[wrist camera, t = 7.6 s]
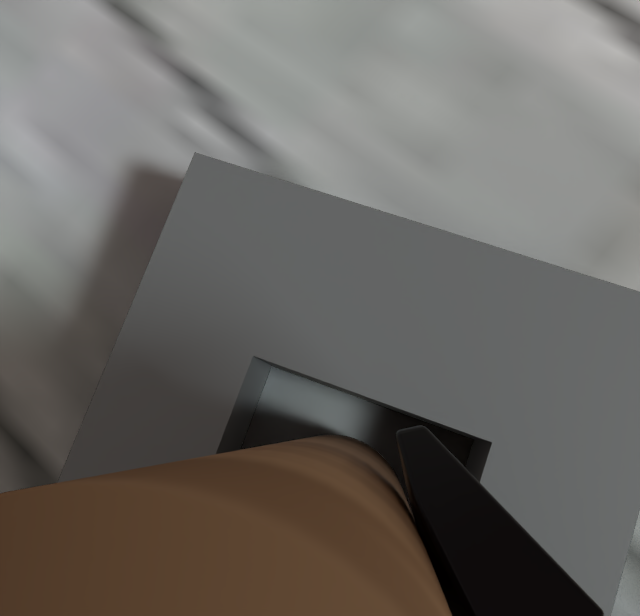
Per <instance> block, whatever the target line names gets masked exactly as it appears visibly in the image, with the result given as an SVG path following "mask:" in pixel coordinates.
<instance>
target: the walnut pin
mask: <svg viewBox="0 0 640 616" xmlns="http://www.w3.org/2000/svg"><path fill="white" fill-rule="evenodd" d="M0 616H452V614H451V611H450V609H449V606H448V603H447V601H446V598H445V596H444V593H443V591H442V588H441V586H440V583H439V581H438V578H437V576H436V573H435V570H434V568H433V565H432V563H431V560H430V558H429V555H428V553H427V550H426V548H425V545H424V543H423V541H422V538H421V536H420V533H419V531H418V528H417V526H416V523H415V520H414V517H413V515H412V512H411V509H410V507H409V504H408V502H407V499H406V497H405V494H404V492H403V489H402V487H401V484H400V482H399V480H398V477H397V475H396V474H395V472H394V470H393V469H392V467H391V466H390V464H389V463H388V462H387V461H386V459H385V458H384V457H383V456H382V455H381V454H380V453H378V452H377V451H376V450H375V449H373V448H372V447H370V446H369V445H367V444H365V443H364V442H361V441H359V440H357V439H354V438H350V437H347V436H341V435H321V436H314V437H309V438H303V439H298V440H292V441H287V442H281V443H276V444H270V445H264V446H259V447H253V448H248V449H242V450H237V451H231V452H226V453H220V454H214V455H209V456H203V457H198V458H192V459H187V460H181V461H176V462H170V463H164V464H159V465H153V466H148V467H142V468H137V469H131V470H126V471H120V472H114V473H109V474H103V475H98V476H92V477H87V478H81V479H76V480H70V481H64V482H59V483H53V484H48V485H42V486H37V487H31V488H26V489H20V490H14V491H9V492H4V493H1V494H0Z"/></svg>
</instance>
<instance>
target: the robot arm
mask: <svg viewBox="0 0 640 616" xmlns="http://www.w3.org/2000/svg"><path fill="white" fill-rule="evenodd" d="M396 440H397V445H398V449H399V454H400V459H401V464H402V469H403V474H404V478H405V482H406V487H407V491H408V495H409V499H410V503H411V507H412V511H413V516H414V520H415V523H416V526H417V528H418V531H419V533H420V536H421V538H422V541H423V543H424V545H425V548H426V550H427V553H428V555H429V558H430V560H431V563H432V565H433V568H434V570H435V573H436V576H437V578H438V581H439V583H440V586H441V588H442V591H443V593H444V596H445V598H446V601H447V603H448V606H449V609H450V611H451V614H452V616H604V612H603V610H602V609H601V608H600V607H599V606H598V605H597V604H596V602H595V601H594V600H593V599H592V598H591V597H590V596H589V595H588V594H587V593H586V592H585V591H584V590H583V589H582V588H581V587H580V586H579V585H578V584H577V583H576V582H575V581H574V580H573V579H572V578H571V577H570V576H569V574H568V573H567V572H566V571H565V570H564V569H563V568H562V567H561V566H560V565H559V564H558V563H557V562H556V561H555V560H554V559H553V558H552V557H551V556H550V555H549V554H548V553H547V552H546V551H545V550H544V549H543V548H542V547H541V545H540V544H539V543H538V542H537V541H536V540H535V539H534V538H533V537H532V536H531V535H530V534H529V533H528V532H527V531H526V530H525V529H524V528H523V527H522V526H521V525H520V524H519V523H518V522H517V521H516V520H515V519H514V518H513V516H512V515H511V514H510V513H509V512H508V511H507V510H506V509H505V508H504V507H503V506H502V505H501V504H500V503H499V502H498V501H497V500H496V499H495V498H494V497H493V496H492V495H491V494H490V493H489V492H488V491H487V490H486V488H485V487H484V486H483V485H482V484H481V483H480V482H479V481H478V480H477V479H476V478H475V477H474V476H473V475H472V474H471V473H470V472H469V471H468V470H467V469H466V468H465V467H464V466H463V465H462V464H461V463H460V462H459V461H458V459H457V458H456V457H455V456H454V455H453V454H452V453H451V452H450V451H449V450H448V449H447V448H446V447H445V446H444V445H443V444H442V443H441V442H440V441H439V440H438V439H437V438H436V437H435V436H434V435H433V434H432V433H431V432H430V430H429V429H427V428H426V427H425V426H422V425H419V426H415V427H410V428H405V429H401V430H398V431H397V433H396Z"/></svg>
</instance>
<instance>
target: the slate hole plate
mask: <svg viewBox="0 0 640 616" xmlns="http://www.w3.org/2000/svg"><path fill="white" fill-rule="evenodd" d="M271 366H274V367H276V368H279V369H282V370H285V371H287V372H290V373H293V374H296V375H298V376H301V377H304V378H307V379H309V380H312V381H315V382H318V383H320V384H323V385H326V386H329V387H331V388H334V389H337V390H340V391H342V392H345V393H348V394H351V395H353V396H356V397H359V398H362V399H364V400H367V401H370V402H373V403H375V404H378V405H381V406H384V407H386V408H389V409H392V410H395V411H397V412H400V413H403V414H406V415H408V416H411V417H414V418H417V419H419V420H422V421H425V422H428V423H430V424H433V425H436V426H439V427H441V428H444V429H447V430H450V431H452V432H455V433H458V434H461V435H463V436H466V437H469V438H472V439H474V441H473V444H472V448H471V451H470V454H469V457H468V460H467V463H466V466H465V468H466V469H467V470H468V471H469V472H470V473H471V474H472V475H473V476H474V477H475V478H476V479H477V480H478V481H479V482H480V483H481V484H482V485H483V486H484V487H485V488H486V490H487V491H488V492H489V493H490V494H491V495H492V496H493V497H494V498H495V499H496V500H497V501H498V502H499V503H500V504H501V505H502V506H503V507H504V508H505V509H506V510H507V511H508V512H509V513H510V514H511V515H512V516H513V518H514V519H515V520H516V521H517V522H518V523H519V524H520V525H521V526H522V527H523V528H524V529H525V530H526V531H527V532H528V533H529V534H530V535H531V536H532V537H533V538H534V539H535V540H536V541H537V542H538V543H539V544H540V545H541V547H542V548H543V549H544V550H545V551H546V552H547V553H548V554H549V555H550V556H551V557H552V558H553V559H554V560H555V561H556V562H557V563H558V564H559V565H560V566H561V567H562V568H563V569H564V570H565V571H566V572H567V573H568V574H569V576H570V577H571V578H572V579H573V580H574V581H575V582H576V583H577V584H578V585H579V586H580V587H581V588H582V589H583V590H584V591H585V592H586V593H587V594H588V595H589V596H590V597H591V598H592V599H593V600H594V601H595V602H596V604H597V605H598V606H599V607H600V608H601V609H602V610H603V612H604V616H611V613H612V609H613V606H614V602H615V598H616V595H617V591H618V587H619V584H620V580H621V576H622V573H623V569H624V565H625V562H626V558H627V554H628V551H629V547H630V543H631V540H632V536H633V532H634V529H635V525H636V521H637V518H638V514H639V510H640V292H639V291H635V290H632V289H629V288H626V287H623V286H619V285H616V284H613V283H610V282H607V281H604V280H600V279H597V278H594V277H591V276H588V275H584V274H581V273H578V272H575V271H572V270H568V269H565V268H562V267H559V266H556V265H553V264H549V263H546V262H543V261H540V260H537V259H533V258H530V257H527V256H524V255H521V254H517V253H514V252H511V251H508V250H505V249H501V248H498V247H495V246H492V245H489V244H486V243H482V242H479V241H476V240H473V239H470V238H466V237H463V236H460V235H457V234H454V233H450V232H447V231H444V230H441V229H438V228H434V227H431V226H428V225H425V224H422V223H419V222H415V221H412V220H409V219H406V218H403V217H399V216H396V215H393V214H390V213H387V212H383V211H380V210H377V209H374V208H371V207H368V206H364V205H361V204H358V203H355V202H352V201H348V200H345V199H342V198H339V197H336V196H332V195H329V194H326V193H323V192H320V191H316V190H313V189H310V188H307V187H304V186H301V185H297V184H294V183H291V182H288V181H285V180H281V179H278V178H275V177H272V176H269V175H265V174H262V173H259V172H256V171H253V170H249V169H246V168H243V167H240V166H237V165H234V164H230V163H227V162H224V161H221V160H218V159H214V158H211V157H208V156H205V155H202V154H198V153H194V156H193V158H192V160H191V163H190V165H189V168H188V170H187V172H186V175H185V177H184V180H183V182H182V184H181V187H180V189H179V192H178V194H177V196H176V199H175V201H174V204H173V206H172V208H171V211H170V213H169V216H168V218H167V220H166V223H165V225H164V228H163V230H162V232H161V235H160V237H159V240H158V242H157V244H156V247H155V249H154V252H153V254H152V256H151V259H150V261H149V264H148V266H147V268H146V271H145V273H144V276H143V278H142V280H141V283H140V285H139V288H138V290H137V292H136V295H135V297H134V300H133V302H132V304H131V307H130V309H129V311H128V314H127V316H126V319H125V321H124V323H123V326H122V328H121V331H120V333H119V335H118V338H117V340H116V343H115V345H114V347H113V350H112V352H111V355H110V357H109V359H108V362H107V364H106V367H105V369H104V371H103V374H102V376H101V379H100V381H99V383H98V386H97V388H96V391H95V393H94V395H93V398H92V400H91V403H90V405H89V407H88V410H87V412H86V415H85V417H84V419H83V422H82V424H81V427H80V429H79V431H78V434H77V436H76V439H75V441H74V443H73V446H72V448H71V451H70V453H69V455H68V458H67V460H66V463H65V465H64V467H63V470H62V472H61V475H60V477H59V479H58V482H57V483H59V482H64V481H70V480H76V479H81V478H87V477H92V476H98V475H103V474H109V473H114V472H120V471H126V470H131V469H137V468H142V467H148V466H153V465H159V464H164V463H170V462H176V461H181V460H187V459H192V458H198V457H203V456H209V455H214V454H220V453H226V452H231V451H237V450H240V449H241V446H242V443H243V441H244V438H245V435H246V433H247V430H248V427H249V425H250V422H251V419H252V417H253V414H254V411H255V409H256V406H257V403H258V401H259V398H260V395H261V393H262V390H263V387H264V385H265V382H266V379H267V377H268V374H269V371H270V369H271Z"/></svg>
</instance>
